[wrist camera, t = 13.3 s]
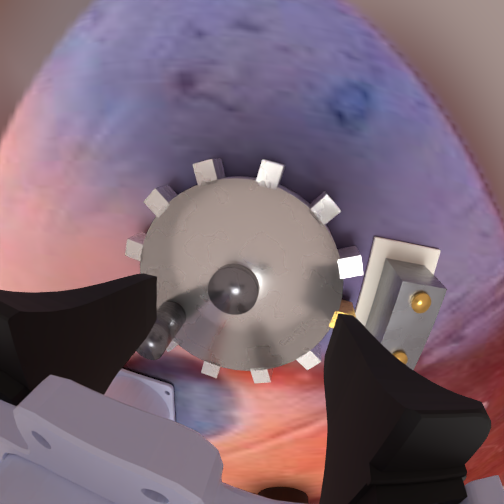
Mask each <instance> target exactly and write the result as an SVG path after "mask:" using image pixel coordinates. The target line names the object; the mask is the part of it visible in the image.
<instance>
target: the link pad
mask: <svg viewBox="0 0 504 504" xmlns="http://www.w3.org/2000/svg"><path fill="white" fill-rule="evenodd" d="M439 254H440V250H439V249H435V248H430V247H425V246H420V245H416V244H411V243H406V242H401V241H396V240H391V239H386V238H380V237H375V236H374V240H373V244H372V248H371V253H370V257H369V261H368V265H367V269H366V273H365V277H364V280H363V284H362V288H361V291H360V295H359V299H358V302H357V306H356V309H355V315H356V318H357V319H358V320H359V321H360V322H361V323H362V324H363V325H364V326H365V325H366V322H367V319H368V316H369V313H370V310H371V307H372V304H373V301H374V297H375V294H376V291H377V287H378V284H379V280H380V277H381V273H382V270H383V266H384V262H385V259H386V258H389V259H394V260H399V261H404V262H410V263H415V264H420V265H425V267H426V268H427V269H428V270H429V271H430V272H431V273H432V274H433V275H434V272H435V268H436V265H437V261H438V258H439Z"/></svg>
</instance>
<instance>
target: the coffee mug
mask: <svg viewBox="0 0 504 504" xmlns="http://www.w3.org/2000/svg"><path fill="white" fill-rule="evenodd" d="M258 495H259V496H263V497H266V498H269V499H272V500H277V501H285V502H294V503H305V504H308V497H307V495H306V494H305V493H304V492H302V491H300V490H297V489H293V488H286V487H274V488H268V489H264V490H262V491H261V492H259V494H258Z"/></svg>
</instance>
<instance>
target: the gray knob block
mask: <svg viewBox="0 0 504 504" xmlns="http://www.w3.org/2000/svg"><path fill="white" fill-rule="evenodd" d="M446 290H447V289H446V288H445V286H444V285H443V284H442V283H441V282H440V281H439V280H438V279H437V278H436V277H435V276H434V275H433V274H432V273H431V272H430V271H429V270H428V269H427V268H426V267H425V265H420V264H415V263H410V262H404V261H399V260H394V259H389V258H386V259H385V262H384V266H383V270H382V273H381V277H380V280H379V284H378V287H377V291H376V294H375V297H374V301H373V304H372V307H371V310H370V313H369V316H368V319H367V322H366V325H365V327H366V329H367V330H368V331H369V332H370V333H371V334H372V335H373V336H374V337H375V338H376V339H377V340H378V341H379V342H380V343H381V344H382V345H383V346H384V347H385V348H386V349H387V350H388V351H390V352H391V353H392V354H393V355H394V356H395V357H396V358H397V359H399V360H400V361H401V362H403V363H404V364H405V365H407V366H408V367H409V368H411V369H412V370H414V367H415V365H416V363H417V361H418V359H419V357H420V355H421V353H422V350H423V348H424V346H425V344H426V341H427V339H428V337H429V334H430V332H431V330H432V327H433V325H434V322H435V320H436V317H437V315H438V312H439V309H440V307H441V304H442V301H443V299H444V296H445V293H446Z"/></svg>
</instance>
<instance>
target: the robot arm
mask: <svg viewBox="0 0 504 504" xmlns="http://www.w3.org/2000/svg"><path fill="white" fill-rule="evenodd" d="M156 320H157V276H153V275H148V274H144V273H143V274H136V275H132V276H128V277H124V278H120V279H116V280H113V281H109V282H105V283H101V284H97V285H93V286H88V287H84V288H79V289H73V290H66V291H58V292H40V293H28V292H12V291H4V290H0V504H305V503H294V502H285V501H277V500H272V499H269V498H266V497H263V496H259V495H256V494H253V493H250V492H247V491H245V490H242V489H239V488H236V487H233V486H231V485H228V484H226V483H223V482H222V480H221V477H222V471H223V463H222V460H221V457H220V454H219V451H218V450H217V448H216V447H215V446H213V445H212V444H211V443H210V442H209V441H208V440H206V439H205V438H204V437H203V436H202V435H201V434H199V433H198V432H197V431H195V430H193V429H190V428H188V427H186V426H184V425H182V424H179V423H177V422H175V406H174V388H173V386H172V385H171V384H169V383H165V382H162V381H159V380H155V379H152V378H149V377H146V376H143V375H140V374H137V373H134V372H131V371H128V370H125V369H122V367H123V366H124V365H125V364H126V362H127V361H128V360H129V359H130V358H131V356H132V355H133V354H134V353H135V351H136V350H137V349H138V348H139V346H140V345H141V344H142V343H143V342H144V340H145V339H146V338H147V336H148V334H149V333H150V331H151V329H152V328H153V326H154V324H155V322H156ZM324 386H325V398H326V410H327V424H328V433H327V449H326V460H325V470H324V477H323V485H322V491H321V498H320V503H319V504H504V489H503V486H502V484H501V481H500V478H499V476H497V475H495V476H491V477H487V478H483V479H479V480H475V481H472V482H470V483H468V484H466V485H465V486H464V483H463V479H462V477H464V476H465V475H466V474H467V470H466V467H465V463H466V462H467V461H468V460H469V459H470V458H471V457H472V456H473V454H474V453H475V452H476V451H477V450H478V449H479V448H480V446H481V445H482V444H483V442H484V441H485V439H486V438H487V436H488V434H489V431H490V429H491V420H490V418H489V416H488V414H487V412H486V410H485V408H484V406H483V404H482V402H480V401H477V400H474V399H471V398H468V397H465V396H462V395H459V394H457V393H454V392H452V391H450V390H447V389H445V388H443V387H441V386H439V385H437V384H435V383H433V382H431V381H430V380H428V379H426V378H425V377H423V376H421V375H420V374H418V373H416V372H415V371H413V370H412V369H411V368H409V367H408V366H407V365H405V364H404V363H403V362H401V361H400V360H399V359H397V358H396V357H395V356H394V355H393V354H392V353H391V352H390V351H388V350H387V349H386V348H385V347H384V346H383V345H382V344H381V343H380V342H379V341H378V340H377V339H376V338H375V337H374V336H373V335H372V334H371V333H370V332H369V331H368V330H367V329H366V327H365V326H364V325H363V324H362V323H361V322H360V321H359V320H358V319H357V318H356V317H355V316H353V315H347V314H341V313H338V316H337V319H336V322H335V325H334V329H333V332H332V335H331V338H330V341H329V345H328V348H327V351H326V354H325V361H324ZM167 391H168V392H167Z"/></svg>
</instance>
